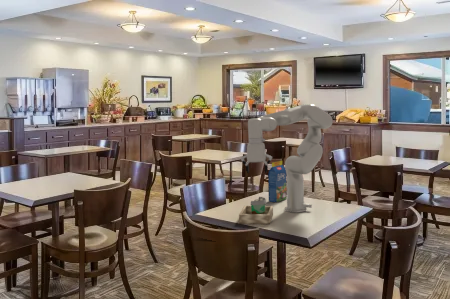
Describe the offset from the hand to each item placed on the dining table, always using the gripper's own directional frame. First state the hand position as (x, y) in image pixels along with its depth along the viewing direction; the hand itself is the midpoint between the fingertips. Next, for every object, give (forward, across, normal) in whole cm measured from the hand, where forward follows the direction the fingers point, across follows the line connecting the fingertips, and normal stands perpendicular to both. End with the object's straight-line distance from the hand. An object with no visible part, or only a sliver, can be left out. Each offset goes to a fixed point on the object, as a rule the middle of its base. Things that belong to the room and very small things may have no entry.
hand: (257, 172), depth 237 cm
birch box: (+25, +1, +6) cm, 25 cm away
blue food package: (+26, -9, -41) cm, 49 cm away
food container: (+24, -2, +6) cm, 25 cm away
